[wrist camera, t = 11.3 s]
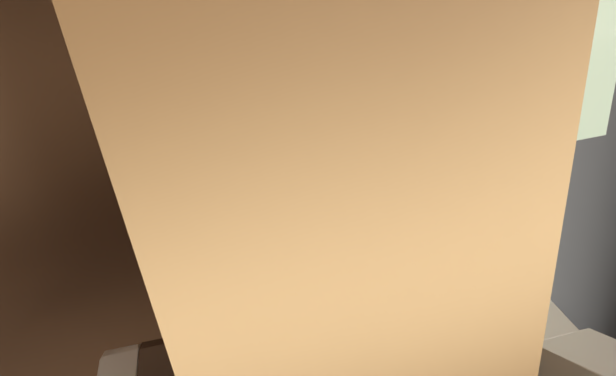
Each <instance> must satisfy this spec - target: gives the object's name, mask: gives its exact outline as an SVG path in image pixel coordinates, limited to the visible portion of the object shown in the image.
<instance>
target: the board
mask: <svg viewBox="0 0 616 376" xmlns="http://www.w3.org/2000/svg"><path fill="white" fill-rule="evenodd" d="M161 338H162V335H161V332H160V329H159V326H158V323H157V320H156V317H155V314H154V311H153V308H152V305H151V302H150V298H149V295H148V292H147V289H146V286H145V283H144V280H143V277H142V274H141V271H140V268H139V265H138V262H137V259H136V256H135V253H134V250H133V247H132V244H131V241H130V238H129V234H128V231H127V228H126V225H125V222H124V219H123V216H122V213H121V210H120V207H119V204H118V201H117V198H116V195H115V192H114V189H113V186H112V183H111V180H110V177H109V174H108V170H107V167H106V164H105V161H104V158H103V155H102V152H101V149H100V146H99V143H98V140H97V137H96V134H95V131H94V128H93V125H92V122H91V119H90V116H89V113H88V110H87V106H86V103H85V100H84V97H83V94H82V91H81V88H80V85H79V82H78V79H77V76H76V73H75V70H74V67H73V64H72V61H71V58H70V55H69V52H68V49H67V46H66V42H65V39H64V36H63V33H62V30H61V27H60V24H59V21H58V18H57V15H56V12H55V9H54V6H53V3H52V0H0V376H97V373H98V367H99V360H100V358H101V357H102V355H103V353H104V351H106V350H111V349H116V348H121V347H126V346H131V345H136V344H141V343H142V342H146V341H151V340H156V339H161Z"/></svg>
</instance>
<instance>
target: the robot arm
mask: <svg viewBox="0 0 616 376" xmlns="http://www.w3.org/2000/svg"><path fill="white" fill-rule="evenodd" d="M97 376H175V375H174V372H173V369H172V366H171V362H170V359H169V356H168V353H167V350H166V347H165V344H164V341H163V338H161V339H156V340H151V341H146V342H142V343H141V344H136V345H131V346H126V347H121V348H116V349H111V350H106V351H104V353H103V355H102V357H101V358H100V360H99V367H98V373H97ZM538 376H616V339H614V338H612V337H609V336H607V335H605V334H602V333H600V332H597V331H595V330H593V329H590V328H587V329H582V330H579V329H578V328H577V327H576V326H575V325H574V324H573V323H572V322H571V321H570V320H569V319H568V318H567V317H566V316H565V315H564V314H563V312H562V311H561V310H560V309H559V308H558V307H557V306H556V305H555V304H554V303H553V302H552V301H551V300H550V305H549V311H548V317H547V323H546V329H545V335H544V341H543V348H542V354H541V360H540V366H539V372H538Z"/></svg>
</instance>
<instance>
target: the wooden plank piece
mask: <svg viewBox="0 0 616 376" xmlns="http://www.w3.org/2000/svg"><path fill="white" fill-rule="evenodd" d="M52 3H53V6H54V9H55V12H56V15H57V18H58V21H59V24H60V27H61V30H62V33H63V36H64V39H65V42H66V46H67V49H68V52H69V55H70V58H71V61H72V64H73V67H74V70H75V73H76V76H77V79H78V82H79V85H80V88H81V91H82V94H83V97H84V100H85V103H86V106H87V110H88V113H89V116H90V119H91V122H92V125H93V128H94V131H95V134H96V137H97V140H98V143H99V146H100V149H101V152H102V155H103V158H104V161H105V164H106V167H107V170H108V174H109V177H110V180H111V183H112V186H113V189H114V192H115V195H116V198H117V201H118V204H119V207H120V210H121V213H122V216H123V219H124V222H125V225H126V228H127V231H128V234H129V238H130V241H131V244H132V247H133V250H134V253H135V256H136V259H137V262H138V265H139V268H140V271H141V274H142V277H143V280H144V283H145V286H146V289H147V292H148V295H149V298H150V302H151V305H152V308H153V311H154V314H155V317H156V320H157V323H158V326H159V329H160V332H161V335H162V338H163V341H164V344H165V347H166V350H167V353H168V356H169V359H170V362H171V366H172V369H173V372H174V375H175V376H538V372H539V366H540V360H541V354H542V348H543V341H544V335H545V329H546V323H547V317H548V311H549V305H550V299H551V293H552V287H553V281H554V274H555V268H556V262H557V256H558V250H559V244H560V238H561V232H562V226H563V220H564V214H565V208H566V201H567V195H568V189H569V183H570V177H571V171H572V165H573V159H574V153H575V147H576V141H577V134H578V128H579V122H580V116H581V110H582V104H583V98H584V92H585V86H586V80H587V74H588V67H589V61H590V55H591V49H592V43H593V37H594V31H595V25H596V19H597V13H598V7H599V0H52Z"/></svg>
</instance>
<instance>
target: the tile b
mask: <svg viewBox="0 0 616 376" xmlns="http://www.w3.org/2000/svg"><path fill="white" fill-rule="evenodd" d="M615 84H616V0H599V7H598V13H597V19H596V25H595V31H594V37H593V43H592V49H591V55H590V61H589V67H588V74H587V80H586V86H585V92H584V98H583V104H582V110H581V116H580V122H579V128H578V134H577V140H582V139H587V138H592V137H598V136H603V135H606V131H607V126H608V121H609V115H610V110H611V105H612V100H613V94H614V89H615Z"/></svg>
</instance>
